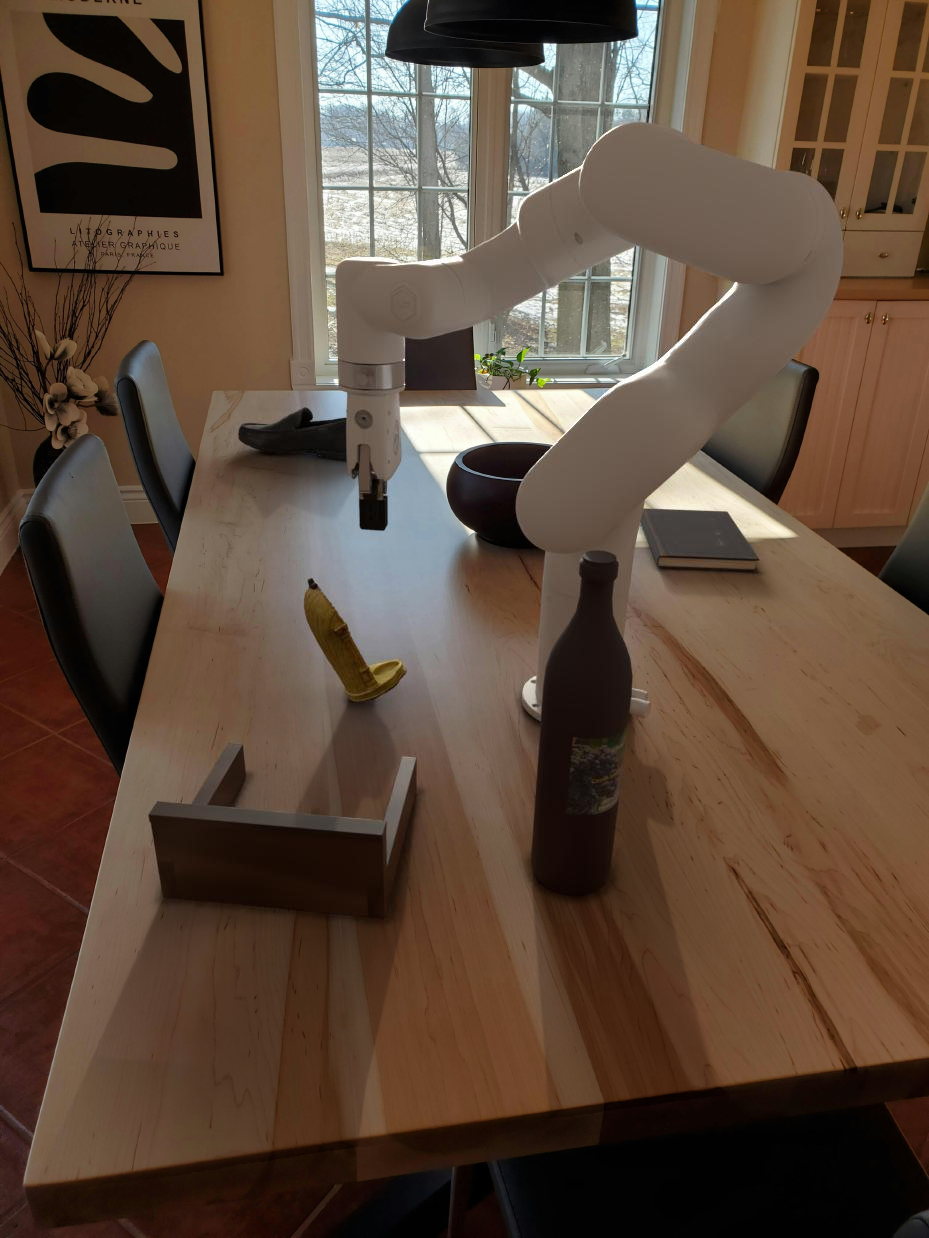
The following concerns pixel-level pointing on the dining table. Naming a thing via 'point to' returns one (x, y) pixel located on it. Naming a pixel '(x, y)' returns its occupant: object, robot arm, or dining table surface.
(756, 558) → the hardcover book
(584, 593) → the wine bottle
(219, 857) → the dark wooden open frame
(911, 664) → the dining table surface
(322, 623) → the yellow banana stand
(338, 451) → the loafer
